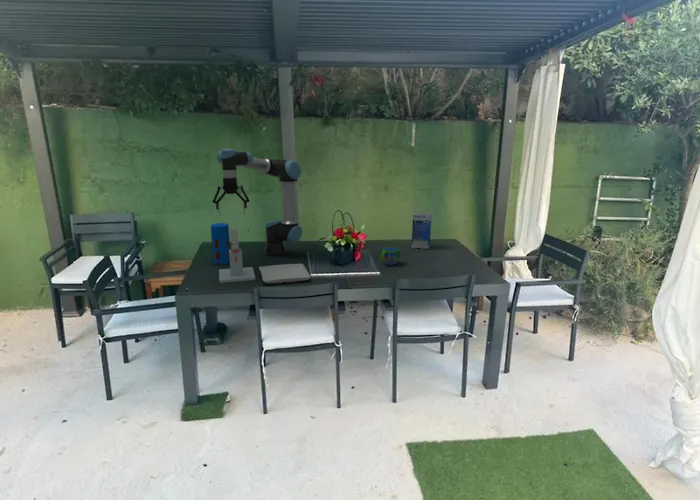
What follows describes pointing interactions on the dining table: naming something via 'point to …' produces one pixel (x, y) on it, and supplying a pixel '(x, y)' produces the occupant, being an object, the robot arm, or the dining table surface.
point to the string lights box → (421, 230)
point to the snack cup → (390, 255)
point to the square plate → (284, 273)
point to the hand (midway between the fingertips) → (232, 214)
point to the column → (234, 240)
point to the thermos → (220, 243)
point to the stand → (236, 269)
